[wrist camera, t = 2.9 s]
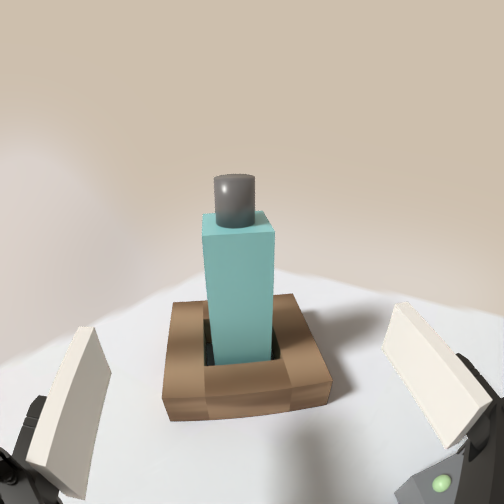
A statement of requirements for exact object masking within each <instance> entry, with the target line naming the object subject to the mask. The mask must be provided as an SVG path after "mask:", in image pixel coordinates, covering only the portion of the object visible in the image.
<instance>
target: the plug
mask: <svg viewBox="0 0 504 504" xmlns="http://www.w3.org/2000/svg"><path fill="white" fill-rule="evenodd" d="M214 193H215V213H212V214H203V222H202V243H203V255H204V268H205V279H206V289H207V299H208V309H209V318H210V327H211V336H212V345H213V353H214V361H215V366H216V365H229V364H241V363H251V362H261V361H270V360H271V341H272V315H273V284H274V245H275V231H274V229H273V228H272V226H271V224H270V223H269V221H268V219H267V217H266V216H265V214H264V212H263V211H255V177H254V176H252V175H247V174H227V175H220V176H217V177H215V178H214Z"/></svg>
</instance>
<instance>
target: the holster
mask: <svg viewBox="0 0 504 504" xmlns="http://www.w3.org/2000/svg"><path fill="white" fill-rule="evenodd" d="M207 343H212V336H211V327H210V318H209V309H208V300H207V301H191V302H173V307H172V314H171V321H170V328H169V336H168V344H167V352H166V361H165V370H164V380H163V391H162V400H163V403H164V406H165V408H166V411H167V414H168V416H169V419H170V421H199V420H217V419H230V418H241V417H251V416H260V415H268V414H275V413H282V412H289V411H295V410H301V409H306V408H312V407H317V406H322V405H326V404H327V400H328V397H329V393H330V390H331V386H332V382H333V380H332V377H331V375H330V373H329V371H328V369H327V366H326V364H325V362H324V360H323V358H322V355H321V353H320V351H319V349H318V347H317V345H316V342H315V340H314V338H313V336H312V334H311V332H310V329H309V327H308V325H307V323H306V321H305V319H304V317H303V314H302V312H301V310H300V308H299V306H298V304H297V302H296V300H295V297H294V295H293V293H292V294H282V295H273V315H272V341H271V350H272V353H273V357H274V360H270V361H261V362H251V363H241V364H229V365H216V366H207V350H206V344H207Z"/></svg>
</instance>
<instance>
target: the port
mask: <svg viewBox="0 0 504 504" xmlns="http://www.w3.org/2000/svg"><path fill="white" fill-rule="evenodd" d="M464 451H465V449H463V450H462V451H461V452H460V454H457V453H456V454H454V455H453V456H451V457H449V458H447V459H445V460H443V461H442V462H440V463H438V464H436V465H434V466H432V467H430V468H428V469H426V470H424V471H422V472H419V473H417V474H415V475H413V476H411V477H410V478H409V479H408V480H407V481H406V482H405V483H404V484H403V485H402V486H401V487H400V488H399V489H398V490H397V491H395V492H394V494H395V496H396V498H397V501H398V503H399V504H454V502H455V498H456V494H457V489H458V485H459V480H460V475H461V469H462V464H463V457H464V455H462V453H463V452H464Z"/></svg>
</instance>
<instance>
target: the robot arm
mask: <svg viewBox="0 0 504 504" xmlns="http://www.w3.org/2000/svg"><path fill="white" fill-rule="evenodd" d="M381 349H382V351H383V352H384V354H385V355H386V357H387V358H388V360H389V361H390V363H391V364H392V366H393V367H394V369H395V370H396V372H397V373H398V375H399V376H400V378H401V379H402V381H403V382H404V384H405V385H406V387H407V388H408V390H409V391H410V393H411V395H412V396H413V398H414V399H415V401H416V402H417V404H418V406H419V407H420V409H421V410H422V412H423V413H424V415H425V417H426V418H427V420H428V422H429V423H430V425H431V426H432V428H433V430H434V431H435V433H436V435H437V436H438V438H439V440H440V441H441V443H442V445H443V446H444V448H445V450H446V449H448V448H450V447H452V446H454V445H455V444H457V443H459V442H460V441H461V440H462V438H463V437H464V436H465V435H467V436H468V440H467V441H466V442H465V443H464V444H463V445H462V446H461V447H460V448H459V449H458V452H457V454H460V452H461V451H462V450H463V449H464V448H465V451H464V452H463V453H462V455H464V457H463V464H462V469H461V475H460V480H459V485H458V489H457V494H456V498H455V502H454V504H504V397H503V398H500V397H499V396H498V395H497V394H496V392H495V391H494V390H493V389H492V387H491V386H490V385H489V384H488V382H487V381H486V380H485V379H484V378H483V376H482V375H480V373H479V372H478V370H477V369H475V368H474V366H473V365H472V363H471V362H470V361H469V360H468V359H467V358H465V357H464V356H462V355H461V354H459V353H457V354H455V353H454V352H453V351H452V350H451V349H450V347H449V346H448V345H447V344H446V343H445V342H444V341H443V340H442V338H441V337H440V336H439V335H438V334H437V333H436V332H435V331H434V329H433V328H432V327H431V326H430V325H429V324H428V323H427V322H426V321H425V320H424V319H423V317H422V316H421V315H420V314H419V313H418V312H417V311H416V310H415V309H414V308H413V307H412V306H411V305H410V304H409V303H408V302H403V303H397V304H395V306H394V309H393V313H392V316H391V320H390V323H389V326H388V329H387V333H386V336H385V339H384V342H383V345H382V348H381ZM110 377H111V370H110V368H109V365H108V363H107V360H106V358H105V355H104V353H103V350H102V347H101V345H100V342H99V339H98V336H97V334H96V331H95V328H94V327H78V329H77V331H76V333H75V335H74V337H73V339H72V341H71V343H70V346H69V348H68V350H67V352H66V354H65V356H64V359H63V361H62V363H61V365H60V368H59V370H58V372H57V375H56V377H55V379H54V382H53V384H52V387H51V389H50V391H49V394H48V397H46V396H40V395H39V396H38V397H37V398H36V399H35V400H34V401H33V402H32V404H31V405H30V407H29V410H28V412H27V415H26V416H27V417H25V420H24V423H23V426H22V428H21V431H20V434H19V436H18V439H17V442H16V445H15V448H14V451H13V454H12V456H11V455H10V454H9V453H8V452H7V451H5V450H4V449H3V448H1V447H0V504H63V503H62V501H61V499H60V498H59V497H58V493H59V490H60V491H61V492H62V493H63V494H65V495H66V496H69V497H73V498H77V499H81V500H85V498H86V490H87V484H88V477H89V471H90V466H91V460H92V455H93V450H94V444H95V440H96V435H97V430H98V426H99V421H100V417H101V412H102V408H103V404H104V400H105V396H106V392H107V388H108V384H109V381H110Z"/></svg>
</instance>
